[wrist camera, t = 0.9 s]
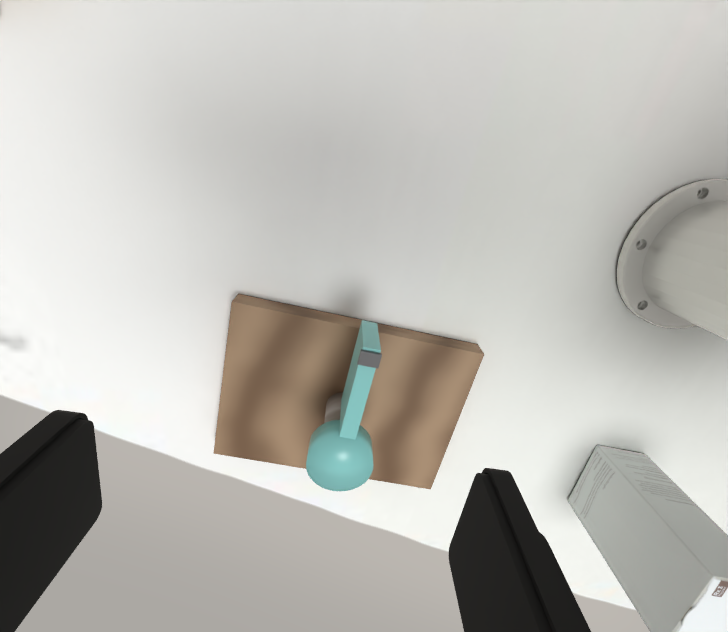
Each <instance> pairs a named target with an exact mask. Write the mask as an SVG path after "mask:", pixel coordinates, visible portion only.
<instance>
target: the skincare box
mask: <svg viewBox="0 0 728 632" xmlns="http://www.w3.org/2000/svg"><path fill="white" fill-rule="evenodd" d="M568 502H569V504H570V505H571V507H572V509H573V510H574V512H575V513H576V515H577V516H578V518H579V520H580V521H581V523H582V524H583V526H584V527H585V529H586V531H587V532H588V534H589V535H590V537H591V538H592V540H593V542H594V543H595V545H596V546H597V548H598V550H599V551H600V553H601V554H602V556H603V558H604V559H605V561H606V562H607V564H608V566H609V567H610V569H611V570H612V572H613V573H614V575H615V577H616V578H617V580H618V581H619V583H620V585H621V586H622V588H623V589H624V591H625V593H626V594H627V596H628V597H629V599H630V600H631V602H632V604H633V605H634V607H635V608H636V610H637V612H638V613H639V614H640V616H641V618H642V619H643V621H644V623H645V624H646V626H647V627H648V629H649V631H650V632H728V535H727V534H726V533H725V532H724V531H723V530H722V529H721V528H720V527H719V526H718V525H717V524H716V523H715V522H714V521H713V520H712V519H711V518H710V517H709V516H708V515H707V514H706V513H704V512H703V511H702V510H701V509H700V508H699V507H698V506H697V505H696V504H695V503H694V502H693V501H692V500H691V499H690V498H689V497H688V496H687V495H686V494H685V493H684V492H683V491H682V490H681V489H680V488H679V487H678V486H677V485H676V484H675V483H674V482H673V481H672V480H671V479H670V478H669V477H668V476H667V475H666V474H665V473H664V472H663V471H662V470H661V469H660V468H659V467H658V466H657V465H656V464H655V463H654V462H653V461H652V460H651V459H650V458H649V457H648V456H647V455H645V454H642V453H637V452H632V451H627V450H622V449H616V448H612V447H606V446H601V445H597V446H596V447H595V449H594V451H593V453H592V455H591V457H590V459H589V461H588V463H587V465H586V467H585V469H584V471H583V472H582V474H581V476H580V478H579V480H578V482H577V484H576V486H575V488H574V490H573V492H572V494H571V495H570V497H569V499H568Z"/></svg>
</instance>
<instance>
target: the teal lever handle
mask: <svg viewBox="0 0 728 632" xmlns="http://www.w3.org/2000/svg"><path fill="white" fill-rule="evenodd" d="M380 352H381V347H380V340H379V333H378V326H377V323H374V322H369V321H364V320H362V321H361V325H360V329H359V333H358V337H357V341H356V345H355V348H354V352H353V356H352V360H351V364H350V368H349V372H348V376H347V380H346V384H345V387H344V391H343V395H342V399H341V413H340V420H333V421H329V422H326V423H324V424H322V425H321V426H319V427H318V428H317V429H316V430H315V431H314V432H313V434H312V436H311V438H310V442H309V448H308V455H307V461H306V469H307V472H308V475H309V476H310V478H311V479H312V480H313V481H314V482H315V483H316V484H317V485H319V486H321V487H323V488H325V489H328V490H332V491H347V490H352V489H355V488H357V487H359V486H361V485H362V484H364V483H365V482H366V481H367V480H368V479H369V477H370V475H371V473H372V471H373V451H372V440H371V437H370V435H369V433H368V432H367V431H366V429H365V428H363V427H362V426H361V425H360V422H361V419H362V415H363V412H364V408H365V405H366V401H367V398H368V394H369V391H370V387H371V384H372V380H373V377H374V373H375V370H376V368H377V369H378V368H379V364H380V361H381V357H382V353H380Z"/></svg>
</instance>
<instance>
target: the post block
mask: <svg viewBox="0 0 728 632" xmlns="http://www.w3.org/2000/svg"><path fill="white" fill-rule="evenodd" d="M361 321H362V320H360V319H355V318H351V317H346V316H341V315H337V314H332V313H327V312H322V311H318V310H313V309H308V308H303V307H299V306H294V305H289V304H284V303H280V302H275V301H270V300H266V299H261V298H256V297H251V296H247V295H242V294H238V295H237V296H236V297H235V298H234V300H233V301H232V303H231V312H230V320H229V329H228V337H227V345H226V354H225V362H224V370H223V379H222V387H221V395H220V404H219V412H218V421H217V429H216V437H215V446H214V454H220V455H226V456H233V457H239V458H245V459H251V460H257V461H263V462H269V463H275V464H281V465H287V466H293V467H299V468H305V469H306V461H307V455H308V448H309V442H310V438H311V436H312V434H313V432H314V431H315V430H316V429H317V428H318V427H319V426H321V425H322V424H324V423H326V422H329V421H333V420H340V413H341V399H342V395H343V391H344V387H345V384H346V380H347V376H348V372H349V368H350V364H351V360H352V356H353V352H354V348H355V345H356V341H357V337H358V333H359V329H360V325H361ZM364 321H365V320H364ZM369 322H370V321H369ZM377 326H378V333H379V340H380V347H381V352H380V353H382V357H381V361H380V364H379V368H378V369H377V368H376V370H375V373H374V377H373V380H372V384H371V387H370V391H369V394H368V398H367V401H366V405H365V408H364V412H363V415H362V419H361V422H360V425H361V426H362V427H363V428H365V429H366V431H367V432H368V433H369V435H370V437H371V440H372V451H373V471H372V473H371V475H370V477H369V479H372V480H378V481H384V482H390V483H396V484H402V485H408V486H414V487H420V488H426V489H431V487H432V484H433V482H434V479H435V477H436V474H437V472H438V469H439V467H440V464H441V462H442V459H443V457H444V454H445V452H446V449H447V447H448V444H449V442H450V439H451V437H452V434H453V431H454V429H455V426H456V424H457V421H458V419H459V416H460V414H461V411H462V409H463V406H464V404H465V401H466V399H467V396H468V394H469V391H470V389H471V386H472V384H473V381H474V379H475V376H476V374H477V371H478V369H479V366H480V363H481V361H482V358H483V356H484V353H483V352H482V350H481V349H480V347H479V346H478V344H474V343H469V342H464V341H460V340H455V339H450V338H445V337H441V336H436V335H431V334H427V333H422V332H417V331H412V330H408V329H403V328H398V327H393V326H389V325H384V324H379V323H377Z"/></svg>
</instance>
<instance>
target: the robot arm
mask: <svg viewBox="0 0 728 632" xmlns="http://www.w3.org/2000/svg"><path fill="white" fill-rule="evenodd" d="M617 285H618V288H619V292H620V295H621V297H622V299H623V301H624V303H625V304H626V306H627V307H628V308H629V309H630V310H631V311H632V312H633V313H634V314H635V315H637V316H638V317H640V318H642V319H643V320H645V321H647V322H649V323H651V324H653V325H656V326H660V327H664V328H678V329H681V328H688V327H694V326H699V327H701V328H703V329H705V330H707V331H709V332H711V333H713V334H715V335H717V336H719V337H721V338H723V339H726V340H728V179H709V180H703V181H697V182H694V183H691V184H688V185H685V186H682V187H680V188H679V189H677V190H675V191H673V192H671V193H669V194H667V195H666V196H664V197H663V198H662V199H660V200H659V201H658V202H656V203H655V204H654V205H652V206H651V207H650V208H649V209H648V210H647V211H646V212H645V213H644V214H643V215H642V216H641V218H640V219H639V220H638V222H637V223H636V224H635V226H634V227H633V228H632V230H631V231H630V233H629V235H628V237H627V239H626V240H625V242H624V244H623V247H622V250H621V253H620V256H619V260H618V267H617ZM101 508H102V498H101V489H100V479H99V470H98V461H97V452H96V443H95V433H94V425H93V423H92V421H88V418H87V416H86V415H85V414H83V413H77V412H70V411H62V410H56V411H53V412H52V413H50V414H49V415H48V416H46V417H45V418H44V419H43V420H42V421H40V422H39V423H38V424H37V425H35V426H34V427H33V428H32V429H31V430H29V431H28V432H27V433H26V434H24V435H23V436H22V437H21V438H19V439H18V440H17V441H16V442H15V443H13V444H12V445H11V446H10V447H9V448H7V449H6V450H5V451H4V452H2V453H1V454H0V632H15V630H16V629H17V628H18V626H19V625H20V624H21V622H22V621H23V619H24V618H25V616H26V615H27V614H28V613H29V611H30V610H31V608H32V607H33V606H34V604H35V603H36V602H37V600H38V599H39V598H40V596H41V595H42V594H43V592H44V591H45V589H46V588H47V587H48V585H49V584H50V583H51V581H52V580H53V579H54V577H55V576H56V575H57V573H58V572H59V570H60V569H61V568H62V566H63V565H64V564H65V562H66V561H67V560H68V558H69V557H70V555H71V554H72V553H73V551H74V550H75V548H76V547H77V546H78V545H79V543H80V542H81V540H82V539H83V538H84V536H85V535H86V534H87V532H88V531H89V530H90V528H91V527H92V526H93V524H94V523H95V521H96V520H97V518H98V516H99V514H100V512H101ZM449 563H450V567H451V572H452V577H453V581H454V586H455V591H456V595H457V599H458V605H459V609H460V614H461V619H462V623H463V628H464V632H591V631H590V629H589V627H588V624H587V623H586V620H585V618H584V616H583V614H582V612H581V610H580V608H579V606H578V604H577V602H576V600H575V598H574V595H573V593H572V591H571V589H570V587H569V585H568V583H567V581H566V579H565V577H564V575H563V573H562V571H561V568H560V566H559V564H558V562H557V560H556V558H555V556H554V554H553V552H552V550H551V548H550V546H549V544H548V542H547V540H546V539H545V537H544V536H543V535H542V534H541V533H540V532H539V531H538V529H537V527H536V525H535V523H534V521H533V519H532V517H531V514H530V512H529V510H528V508H527V506H526V504H525V502H524V500H523V498H522V495H521V493H520V491H519V489H518V487H517V485H516V483H515V481H514V478H513V476H512V475H511V473H510V472H509V471H505V470H498V469H490V468H485V469H484V470H483V472H482V473H477V474H476V476H475V478H474V481H473V483H472V486H471V489H470V492H469V494H468V497H467V500H466V503H465V505H464V508H463V511H462V514H461V516H460V519H459V522H458V525H457V527H456V530H455V533H454V535H453V538H452V541H451V544H450V547H449Z"/></svg>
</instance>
